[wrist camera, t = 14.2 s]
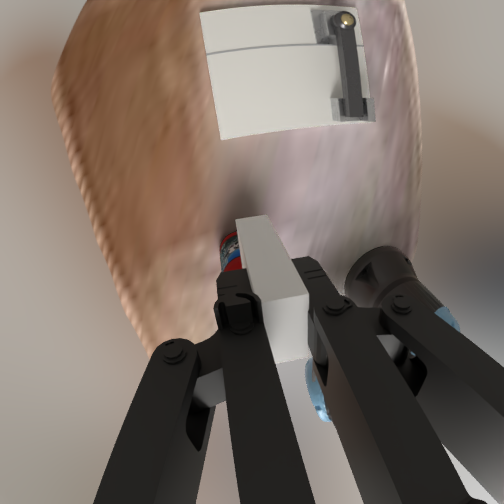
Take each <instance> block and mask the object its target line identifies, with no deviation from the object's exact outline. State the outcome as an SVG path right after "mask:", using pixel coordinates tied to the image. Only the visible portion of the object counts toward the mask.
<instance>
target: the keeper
mask: <svg viewBox="0 0 504 504" xmlns="http://www.w3.org/2000/svg"><path fill="white" fill-rule="evenodd" d="M362 100H363V115H364V117H344V106H343V98H330V101H331V110H332V119H333V121H339V122H345V121H366V122H376V120H375V108H374V98H362Z"/></svg>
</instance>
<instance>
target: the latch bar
mask: <svg viewBox="0 0 504 504" xmlns="http://www.w3.org/2000/svg"><path fill="white" fill-rule="evenodd" d="M331 24H332V26H333V28H334V29H335V35H336V42H337V49H338V57H339V65H340V74H341V84H342V94H343V106H344V117H364V115H363V100H362V88H361V78H360V68H359V60H358V52H357V44H356V37H355V31H354V27H355V26H356V19H355V17H354V16H353V15H352V14H351V13H350V12H348V11H340V12H339V13H337V14H335V15H333V16H332V18H331Z"/></svg>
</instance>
